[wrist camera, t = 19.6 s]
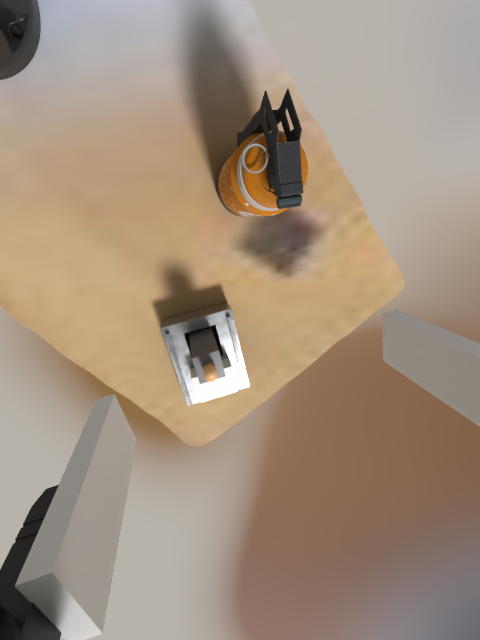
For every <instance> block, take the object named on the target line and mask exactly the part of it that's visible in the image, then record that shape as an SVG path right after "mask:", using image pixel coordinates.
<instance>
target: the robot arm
mask: <svg viewBox="0 0 480 640" xmlns="http://www.w3.org/2000/svg"><path fill="white" fill-rule="evenodd" d="M39 38H40V12H39V7H38V2H37V0H0V80H2V79H6V78H9V77H12V76H14V75H16V74H17V73H19V72H20V71H22V70H23V69H24V68H25V67H26V66H27V65H28V64H29V62H30V61H31V60H32V58H33V56H34V54H35V52H36V50H37V47H38V43H39ZM383 361H384V362H386V363H387V364H389V365H390V366H391V367H393V368H394V369H396V370H397V371H399V372H400V373H402V374H403V375H405V376H406V377H408V378H409V379H411V380H412V381H414V382H415V383H417V384H418V385H420V386H421V387H422V388H424V389H425V390H427V391H428V392H430V393H431V394H433V395H434V396H436V397H437V398H438V399H440V400H441V401H443V402H444V403H446V404H447V405H449V406H450V407H452V408H453V409H455V410H456V411H458V412H459V413H460V414H462V415H463V416H465V417H466V418H468V419H469V420H471V421H472V422H474V423H475V424H477V425H478V426H480V344H479V343H477V342H474V341H472V340H470V339H467V338H464V337H462V336H460V335H457V334H455V333H452V332H450V331H447V330H445V329H442V328H440V327H438V326H435V325H433V324H430V323H428V322H425V321H423V320H421V319H418V318H416V317H413V316H411V315H408V314H406V313H404V312H401V311H399V310H393V311H390V312H386V313H383ZM135 445H136V439H135V437H134V435H133V433H132V431H131V428H130V426H129V424H128V422H127V420H126V418H125V416H124V413H123V412H122V409H121V407H120V405H119V403H118V401H117V399H116V397H115V394H113V395H109V396H106V397H102V398H99V399H96V401H95V404H94V406H93V408H92V410H91V413H90V415H89V417H88V420H87V422H86V424H85V427H84V429H83V431H82V433H81V436H80V438H79V440H78V442H77V445H76V447H75V450H74V452H73V454H72V456H71V458H70V461H69V463H68V465H67V468H66V470H65V472H64V474H63V477H62V479H61V482H60V484H59V485H57V486H54V487H51V488H48V489H46V490H45V491H44V492H43V494H42V495H41V496H40V497H39V498H38V500H37V501H36V502H35V504H34V505H33V506H32V507H31V510H30V511H29V514H28V515H27V517H26V520H25V522H24V523H23V528H21V530H20V532H19V533H18V535H17V538H16V542H15V543H14V544H13V545H12V548H11V549H10V552H9V554H8V556H7V558H6V560H5V562H4V564H3V566H2V568H1V570H0V640H60V636H62V637H63V638H65V640H87V639H89V638H92V637H94V636H97V635H99V634H102V632H103V627H104V621H105V615H106V610H107V604H108V598H109V593H110V587H111V582H112V576H113V570H114V564H115V559H116V553H117V547H118V542H119V536H120V530H121V524H122V519H123V513H124V507H125V502H126V496H127V490H128V485H129V479H130V473H131V468H132V462H133V456H134V450H135Z"/></svg>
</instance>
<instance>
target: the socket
mask: <svg viewBox="0 0 480 640" xmlns="http://www.w3.org/2000/svg"><path fill="white" fill-rule="evenodd" d="M213 325H215V328H216V332H217V335H218V339H219V343H220V346H218V349H219V353H220V356H221V359H225V358H228V357H229V360H230V362H231V365H232V368H233V372H234V374H233V375H234V379H235V383H236V387H237V390H239V389H242V388H246V387H248V386H250V385H249V381H248V377H247V373H246V369H245V364H244V360H243V356H242V352H241V347H240V343H239V339H238V335H237V331H236V326H235V322H234V318H233V314H232V309H231V307H230V306H229V304H228V303H227V302H226V303H222V304H219V305H215V306H211V307H208V308H204V309H200V310H197V311H193V312H189V313H186V314H182V315H178V316H175V317H171V318H167V319H164V320H162V322H161V331H162V334H163V336H164V339H165V342H166V345H167V348H168V351H169V353H170V356H171V359H172V362H173V365H174V368H175V370H176V373H177V376H178V379H179V382H180V385H181V388H182V390H183V393H184V396H185V399H186V402H187V405H193V404H195V403H198V402H201V401H200V398H199V395H198V392H197V389H196V386H194V385H193V382H192V379H191V371H190V369H191V368H194V364H193V361H192V357H191V349H190V346H189V342H188V339H187V336H186V333H188V332H191V331H195V330H198V329H202V328H205V327H209V326H213Z"/></svg>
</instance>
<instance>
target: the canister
mask: <svg viewBox="0 0 480 640" xmlns="http://www.w3.org/2000/svg"><path fill="white" fill-rule="evenodd" d="M286 109H288V112H289V115H290V118H291V121H292V124H293V127H294V129H293V130H292V131H290V127H289V123H288V120H287V116H286ZM280 122H282V126H283V129H284V132H282V131H279V130H278V127H277V125H278V124H279V123H280ZM271 130H272V131H271ZM301 132H302V129H301V126H300V123H299V120H298V117H297V114H296V111H295V108H294V105H293V102H292V99H291V95H290V92H289V89H287V91H286V93H285V96H284V99H283V101H282V104H281V106H280V108H279V109H278V110H272V108H271V105H270V101H269V98H268V95H267V92H266V91H265V93H264V96H263V100H262V103H261V107H260V110H259V111H258V112H256V114H255V115H254V116H253V118H252V120H251V121H250V123H249V124H248V125H247V127H246V128H245V129H244V130H243V132H237V143H238V148H237V149H236V150H235V151H234V153H233V154H232V155H231V156H230V157H229V158H228V159H227V161H226V162H225V163H224V164H223V166H222V167H221V169H220V171H219V174H218V177H217V192H218V196H219V199H220V201H221V203H222V204H223V206H224V207H225V208H226V209H227V210H228V211H229V212H231V213H233V214H235V215H237V216H242V217H250V216H272V215H276V214H279V213H281V212H283V211H284V210H286V209H287V208H290V207H296V206H301V203H302V196H301V194H303V189H304V187H305V184H306V181H307V175H308V165H307V159H306V155H305V153H304V150H303V149H302V147H301V145H300V138H301Z"/></svg>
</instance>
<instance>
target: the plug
mask: <svg viewBox="0 0 480 640" xmlns="http://www.w3.org/2000/svg"><path fill="white" fill-rule="evenodd" d="M189 340H190V348H191V357H192V361H193V364H194V367H195V370H196V373H197V377H198V380H199V383H200V384H202V383H206V382H213V381H215V380H216V379H219V378H222V377H225V376H226V375H225V371H224V367H223V364H222V360H221V356H220V353H219V349H218V346H217V343H216V340H215V337H214V334H213V331H212V328H211V326H209V327H205V328H202V329H198V330H195V331H191V332H189Z"/></svg>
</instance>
